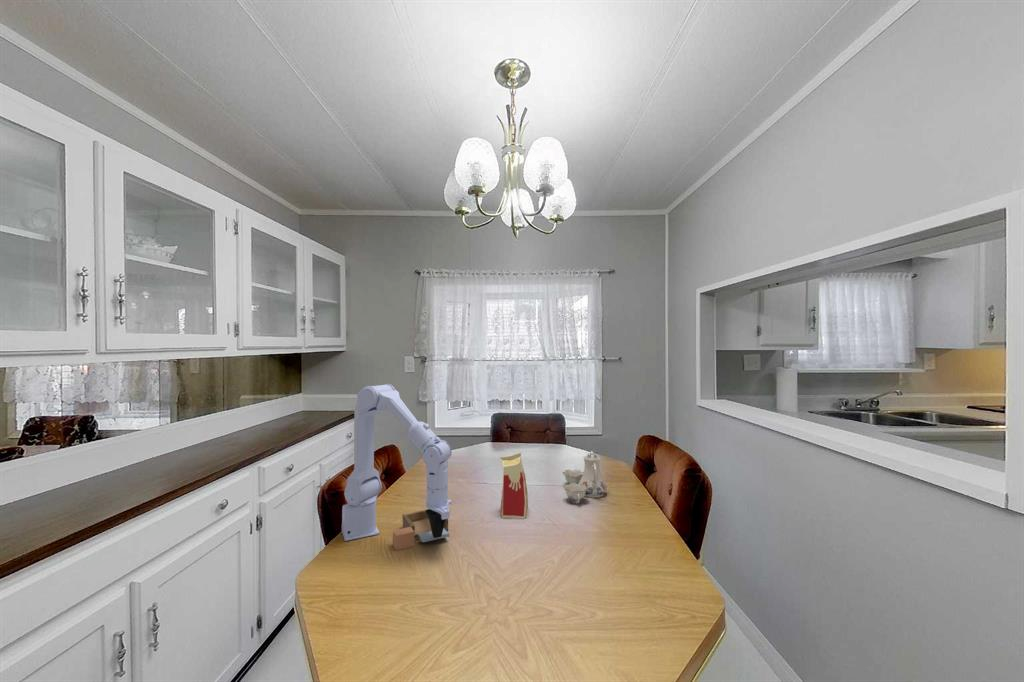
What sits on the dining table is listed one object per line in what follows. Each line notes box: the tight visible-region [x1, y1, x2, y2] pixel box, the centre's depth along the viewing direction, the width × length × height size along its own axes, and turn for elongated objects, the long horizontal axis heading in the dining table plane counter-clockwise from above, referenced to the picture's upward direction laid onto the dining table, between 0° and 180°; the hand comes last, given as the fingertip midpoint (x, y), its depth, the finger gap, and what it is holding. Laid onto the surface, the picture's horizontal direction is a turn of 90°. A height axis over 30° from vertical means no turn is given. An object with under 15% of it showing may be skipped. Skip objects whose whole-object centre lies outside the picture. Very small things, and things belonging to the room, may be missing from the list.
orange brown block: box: [392, 527, 415, 551], centre depth 112 cm, size 5×4×4 cm
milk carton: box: [499, 451, 529, 520], centre depth 134 cm, size 9×9×20 cm
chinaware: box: [562, 450, 608, 504], centre depth 153 cm, size 28×17×17 cm, turn 179°
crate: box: [402, 509, 449, 541], centre depth 121 cm, size 11×11×4 cm
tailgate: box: [418, 529, 450, 543], centre depth 114 cm, size 8×1×5 cm
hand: (437, 536), depth 111 cm, fingers closed
